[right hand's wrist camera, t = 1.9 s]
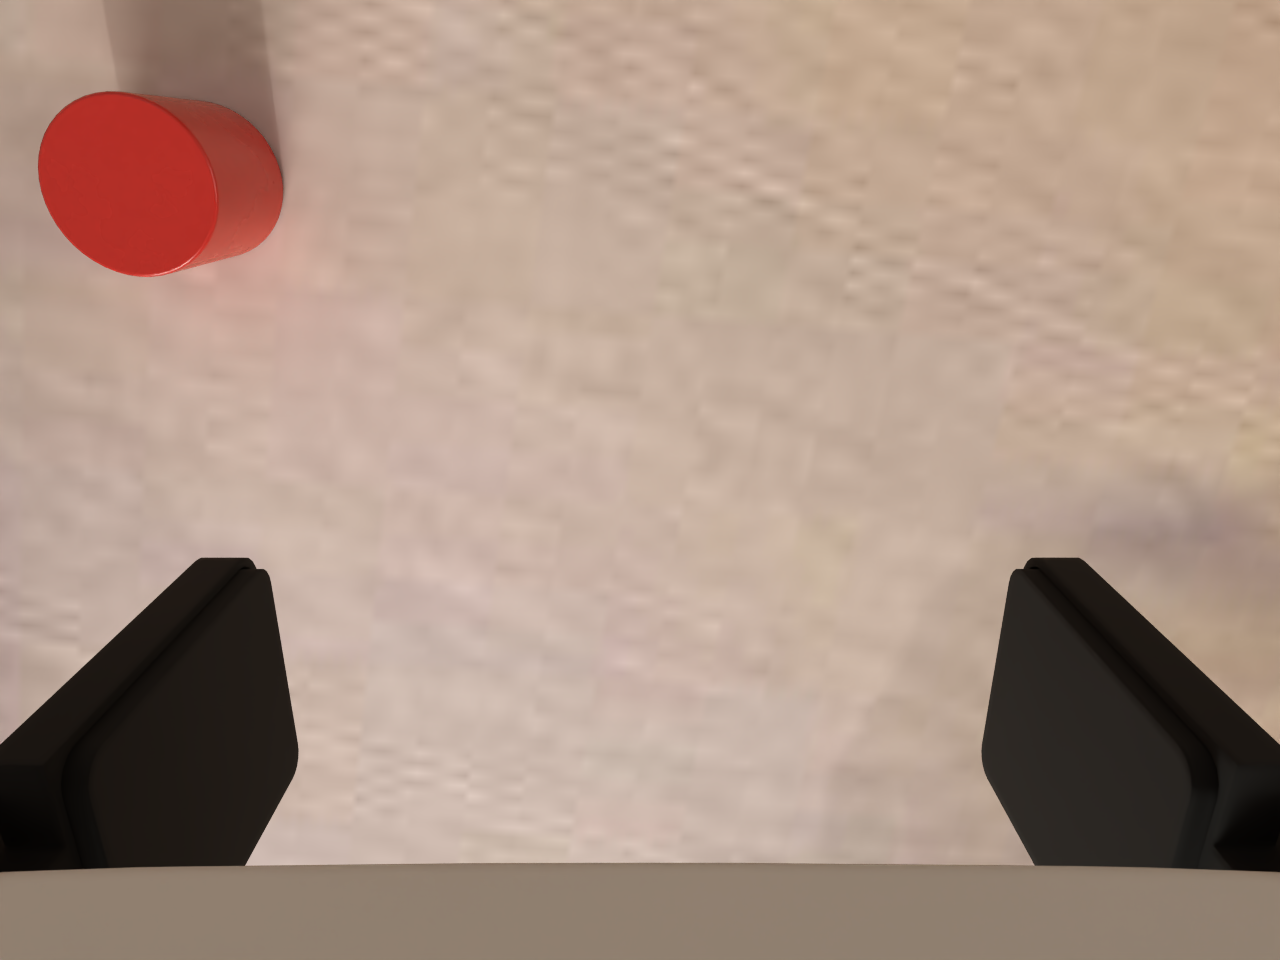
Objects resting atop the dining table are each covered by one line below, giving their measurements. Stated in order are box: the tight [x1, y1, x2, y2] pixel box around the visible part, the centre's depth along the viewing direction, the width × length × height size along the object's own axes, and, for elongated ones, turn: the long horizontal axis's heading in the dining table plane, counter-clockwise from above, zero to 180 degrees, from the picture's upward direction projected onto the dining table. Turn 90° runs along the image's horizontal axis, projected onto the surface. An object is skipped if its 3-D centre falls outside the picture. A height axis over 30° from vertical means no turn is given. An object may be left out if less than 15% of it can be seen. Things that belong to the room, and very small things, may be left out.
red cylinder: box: [38, 91, 283, 277], centre depth 21 cm, size 4×4×4 cm
